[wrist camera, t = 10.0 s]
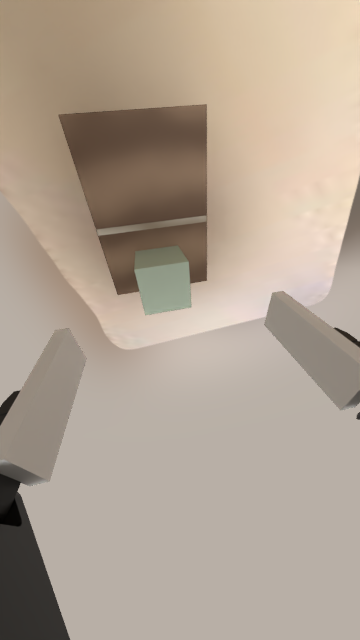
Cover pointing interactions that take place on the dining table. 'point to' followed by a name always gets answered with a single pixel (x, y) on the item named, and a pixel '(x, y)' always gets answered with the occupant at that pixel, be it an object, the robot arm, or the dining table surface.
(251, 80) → the dining table surface
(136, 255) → the sage block
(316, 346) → the robot arm
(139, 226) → the walnut board
